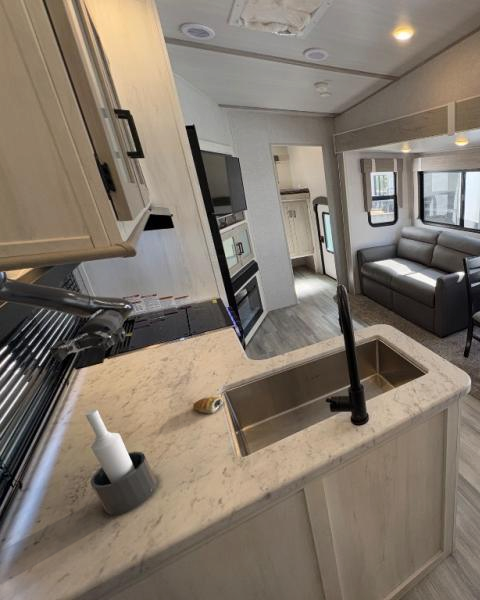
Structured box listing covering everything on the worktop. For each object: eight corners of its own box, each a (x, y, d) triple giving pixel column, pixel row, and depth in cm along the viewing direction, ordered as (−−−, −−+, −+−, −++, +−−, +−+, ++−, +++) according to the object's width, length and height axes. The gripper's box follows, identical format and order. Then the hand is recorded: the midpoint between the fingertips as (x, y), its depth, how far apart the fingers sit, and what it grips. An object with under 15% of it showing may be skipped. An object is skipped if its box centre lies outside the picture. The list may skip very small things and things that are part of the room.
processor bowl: (99, 523, 72) (83, 495, 69) (111, 489, 80) (98, 463, 77) (153, 500, 76) (140, 473, 73) (159, 470, 85) (148, 445, 82)
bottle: (117, 491, 78) (76, 412, 70) (143, 478, 81) (106, 401, 73) (117, 505, 75) (74, 423, 66) (144, 491, 78) (106, 411, 69)
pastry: (189, 413, 107) (186, 404, 106) (203, 400, 113) (200, 392, 112) (213, 414, 105) (210, 405, 104) (226, 401, 112) (223, 393, 110)
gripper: (62, 324, 87) (35, 347, 73) (126, 312, 93) (111, 331, 80) (73, 348, 89) (49, 374, 76) (135, 334, 96) (122, 356, 83)
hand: (81, 352), depth 78 cm, fingers open, 8 cm apart
